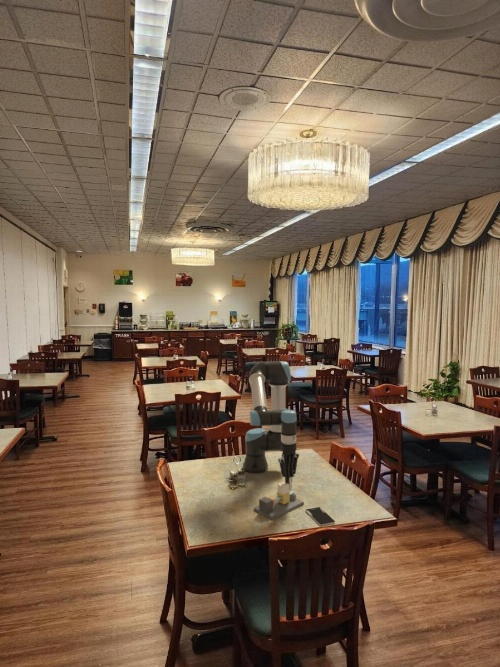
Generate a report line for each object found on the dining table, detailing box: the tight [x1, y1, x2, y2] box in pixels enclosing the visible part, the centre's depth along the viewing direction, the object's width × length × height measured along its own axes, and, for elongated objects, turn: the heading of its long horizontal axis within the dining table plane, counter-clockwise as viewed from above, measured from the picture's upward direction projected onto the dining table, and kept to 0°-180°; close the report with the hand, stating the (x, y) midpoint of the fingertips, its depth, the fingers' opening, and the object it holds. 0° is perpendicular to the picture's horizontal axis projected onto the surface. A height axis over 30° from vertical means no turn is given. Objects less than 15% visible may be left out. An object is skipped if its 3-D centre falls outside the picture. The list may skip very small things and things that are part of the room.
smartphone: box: [305, 506, 336, 527], centre depth 188 cm, size 8×1×15 cm
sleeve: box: [276, 481, 290, 504], centre depth 199 cm, size 5×4×9 cm
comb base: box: [253, 490, 305, 520], centre depth 198 cm, size 12×22×6 cm, turn 132°
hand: (288, 489), depth 202 cm, fingers closed
